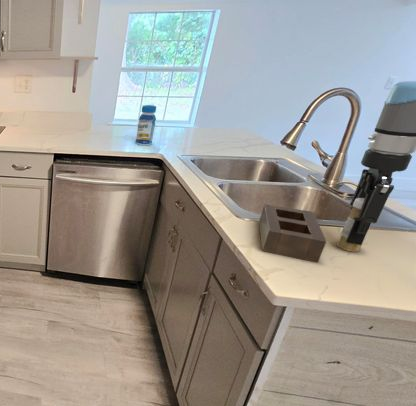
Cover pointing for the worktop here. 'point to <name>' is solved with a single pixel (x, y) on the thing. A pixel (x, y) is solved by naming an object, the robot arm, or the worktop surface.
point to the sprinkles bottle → (347, 228)
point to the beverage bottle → (146, 125)
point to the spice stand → (291, 233)
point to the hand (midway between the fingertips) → (351, 238)
